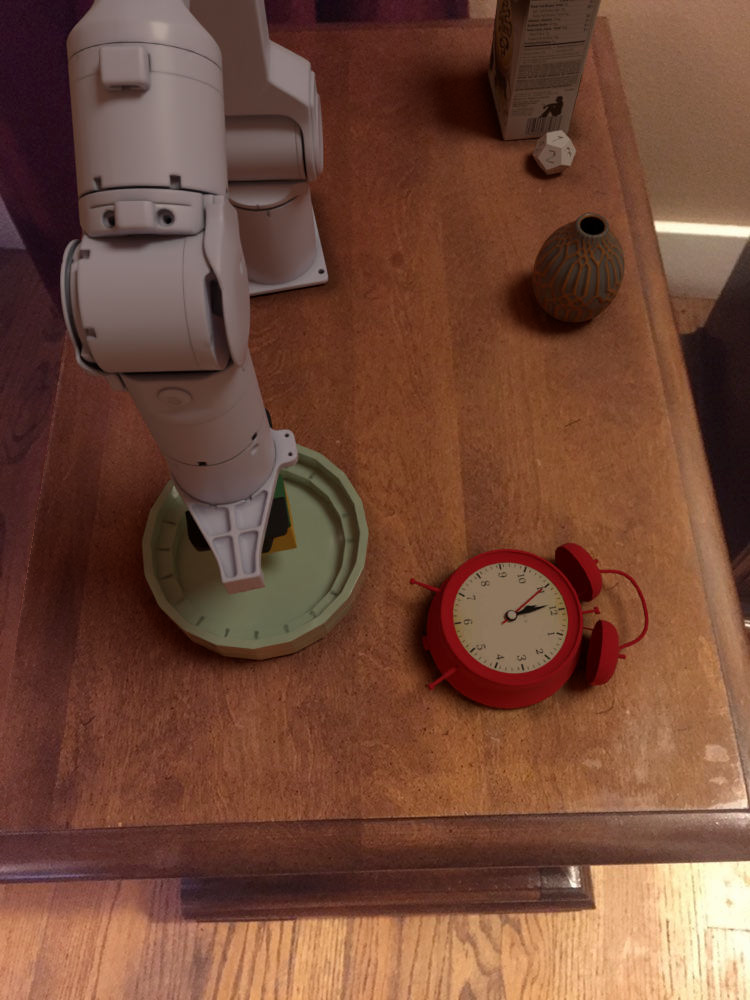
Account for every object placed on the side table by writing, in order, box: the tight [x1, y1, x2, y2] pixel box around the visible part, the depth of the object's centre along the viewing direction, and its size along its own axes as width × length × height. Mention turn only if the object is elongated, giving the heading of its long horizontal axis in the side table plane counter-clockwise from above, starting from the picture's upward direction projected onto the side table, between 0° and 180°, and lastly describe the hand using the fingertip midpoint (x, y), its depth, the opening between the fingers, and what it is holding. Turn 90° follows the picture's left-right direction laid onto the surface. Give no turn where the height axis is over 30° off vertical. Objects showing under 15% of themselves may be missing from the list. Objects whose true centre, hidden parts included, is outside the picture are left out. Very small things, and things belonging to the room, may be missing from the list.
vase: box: [532, 212, 626, 323], centre depth 63 cm, size 7×7×9 cm
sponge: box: [261, 474, 297, 555], centre depth 53 cm, size 5×3×4 cm
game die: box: [532, 130, 577, 175], centre depth 73 cm, size 4×4×3 cm
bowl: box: [141, 443, 371, 661], centre depth 57 cm, size 15×15×4 cm
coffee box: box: [487, 0, 602, 141], centre depth 70 cm, size 9×6×16 cm
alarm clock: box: [408, 542, 650, 709], centre depth 54 cm, size 10×6×15 cm
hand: (249, 522), depth 53 cm, fingers closed on sponge, 3 cm apart
